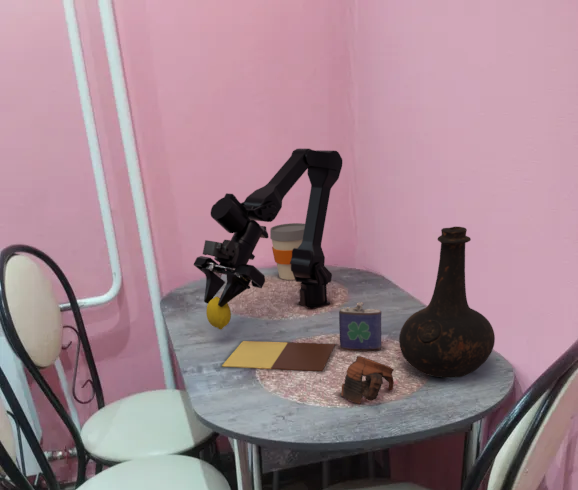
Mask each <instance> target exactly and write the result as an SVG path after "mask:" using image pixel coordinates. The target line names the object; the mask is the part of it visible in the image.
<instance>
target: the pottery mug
mask: <svg viewBox="0 0 578 490" xmlns="http://www.w3.org/2000/svg"><path fill="white" fill-rule="evenodd" d="M393 372H394V368H392V367H391V366H388V365H386V364H384V363H381V362H378V361H375V360H372V359H369V358H367V357H365V356H361V355H357V356H356V359H355V361H353V362H352V363H351V364H350V365H349V366H348V367H347V370H346V372H345V373H346V374H345V377H344V382H343V383H342V385H341V392H340V396H341V397H343V398H345V399H346V400H348V401H349V402H352V403H354V404H357V405H361V403H362V399H363V398H364V399H365V400H367V401H368V402H371V401H375V400H377V399H378V396H379V393H380V390H381V388H382V385H383V379H384V380H385V381H386V382H387V383H388V387H387V388H388V391H389V392H390V391H393V388H394V385H395V384H394V376H393ZM363 377H364V378H365V380H363Z"/></svg>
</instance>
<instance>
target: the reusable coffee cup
mask: <svg viewBox="0 0 578 490" xmlns="http://www.w3.org/2000/svg"><path fill="white" fill-rule="evenodd" d="M304 227H305V223H302V222H301V223H300V222H296V223H295V222H293V223H292V222H291V223H283V224H278V225H274V226H272V227H270V231H269V232H270V233H269V234H270V237H269V239H270V240H271V244H272V246H271V250H272V255H273V259H274V263H276V267H277V272H278V277H279V279H281V280H286V281H287V280H288V281H293V280H294V281H296V280H295V278H294V275H293V272H292V271H291V264H290V261H291V258H292V250H293V248H298V247H299V246H300V245H301V243H302V240H303V233H304Z"/></svg>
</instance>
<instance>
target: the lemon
mask: <svg viewBox="0 0 578 490" xmlns="http://www.w3.org/2000/svg"><path fill="white" fill-rule="evenodd" d="M219 300H220V297H219V296H214V297H213V299H212V300H210V301H209V303H208V304H207V305H206V311H205V312H206V318H207V321H208V323H209V324H210V325H211V327H213V328H217V329H218V330H220V331H222V330H223V329H224V328H225V327H226V326H228V325H229V323H230V321H231V318H232V311H231V308H230V305H229V302H228V303H227V304H225V305H224V306H223V307H220V306H218V303H219Z"/></svg>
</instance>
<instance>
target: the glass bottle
mask: <svg viewBox="0 0 578 490" xmlns="http://www.w3.org/2000/svg"><path fill="white" fill-rule="evenodd" d="M440 232H441V235H439V236H438V237H437V241H438V242H439V243H440V249H439V250H440V251H439V262H438V269H437V274H436V280H435V284H434V285H435V286H434V289H433V292H432V296H431V298H430V301H429V303H428V305H427V306H426V307H424V308H422V309H420V310H418V311H416V312H414V313H412V314H411V315H410V316H409V317H408V318H407V319H406V320H405V322H404V323H403V325H402V327H401V329H400V333H399V338H398V339H399V340H398V341H399V349H400V352H401V354H402V356H403V358H404V359H405V361H406V362H407V363H408V364H409V365H410V366H411V367H412V368H413V369H414V370H416V371H417V372H419V373H422V374H424V375H427V376H432V377H435V378H443V379H456V378H461V377H464V376H467V375H470V374H471V373H473V372H475V371H477V370H478V369H479V368H480V367H481V366H483V365H484V363H486V361H487V360H488V359H489V357H490V356H491V355H492V352H493V350H494V347H495V340H496V337H495V335H496V334H495V330H494V328H493V325H492V324H491V322H490V321H489V320H488V319H487V317H486V316H484V315H483V314H482V313H480V312H479V311H477V310H475V309H474V308H471V307H470V306H469V303H468V298H467V288H466V244H467V243H469V242H470V241H471V240H472V239H471V237H469V236H468V235H467V228H466V227H464V226H450V227H443V228H441V230H440Z"/></svg>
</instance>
